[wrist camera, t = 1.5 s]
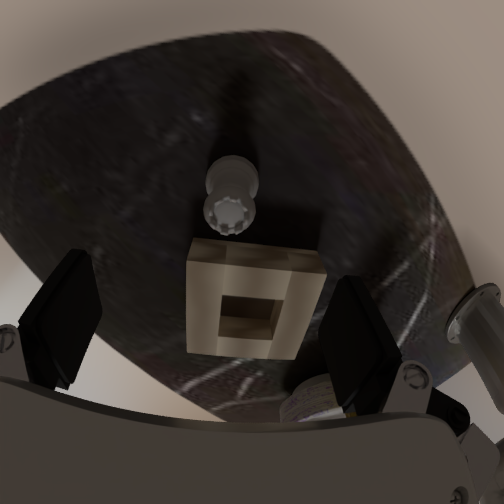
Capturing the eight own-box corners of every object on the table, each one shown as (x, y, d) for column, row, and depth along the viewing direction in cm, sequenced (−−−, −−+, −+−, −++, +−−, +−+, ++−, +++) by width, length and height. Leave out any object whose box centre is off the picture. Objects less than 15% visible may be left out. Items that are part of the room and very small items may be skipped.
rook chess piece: (249, 146, 22) (253, 170, 15) (265, 194, 24) (275, 237, 17) (198, 164, 22) (179, 195, 16) (217, 210, 25) (208, 257, 18)
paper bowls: (353, 401, 45) (363, 436, 38) (274, 411, 45) (278, 449, 38) (379, 353, 37) (396, 395, 30) (280, 365, 37) (287, 413, 30)
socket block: (316, 250, 27) (327, 274, 24) (289, 334, 33) (294, 359, 30) (193, 237, 26) (186, 260, 23) (191, 326, 32) (187, 352, 29)
